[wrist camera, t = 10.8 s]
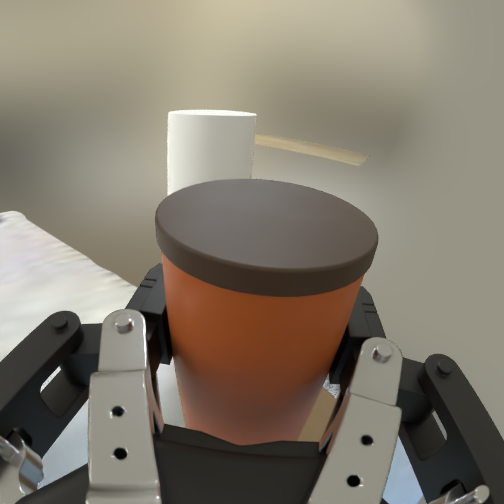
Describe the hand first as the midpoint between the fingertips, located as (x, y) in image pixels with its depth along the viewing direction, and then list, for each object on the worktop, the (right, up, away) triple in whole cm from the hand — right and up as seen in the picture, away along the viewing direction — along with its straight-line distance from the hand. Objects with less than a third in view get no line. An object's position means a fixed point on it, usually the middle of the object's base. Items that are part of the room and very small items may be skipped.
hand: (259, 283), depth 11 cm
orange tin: (-1, -6, +1) cm, 7 cm away
